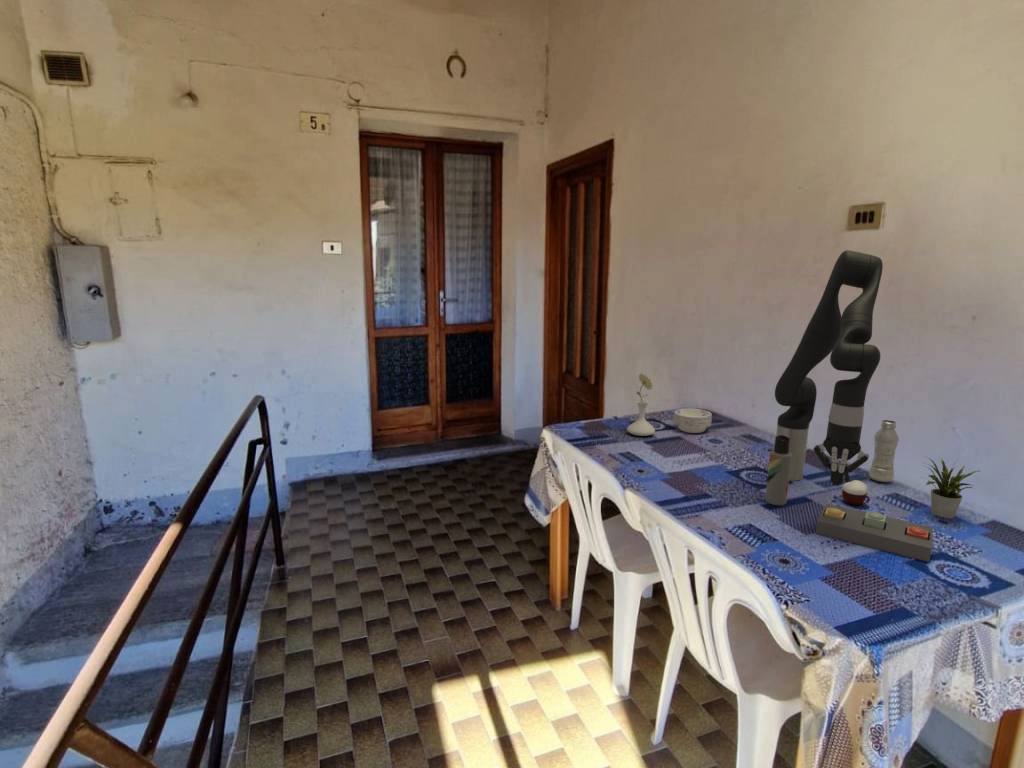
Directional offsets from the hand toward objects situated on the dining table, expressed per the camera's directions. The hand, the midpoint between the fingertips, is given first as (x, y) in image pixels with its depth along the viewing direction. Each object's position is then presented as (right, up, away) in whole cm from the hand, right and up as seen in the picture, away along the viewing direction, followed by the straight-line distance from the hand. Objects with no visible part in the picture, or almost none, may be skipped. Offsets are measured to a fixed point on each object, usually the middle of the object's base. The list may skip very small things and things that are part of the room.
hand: (836, 484), depth 149 cm
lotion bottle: (-8, -9, +18) cm, 21 cm away
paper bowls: (-9, +7, +90) cm, 91 cm away
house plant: (+35, -10, +11) cm, 38 cm away
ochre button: (0, -11, +2) cm, 11 cm away
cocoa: (+15, -9, +18) cm, 25 cm away
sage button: (+8, -10, -4) cm, 13 cm away
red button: (+15, -13, -9) cm, 21 cm away
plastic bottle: (+34, -5, +35) cm, 49 cm away
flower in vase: (-32, +6, +85) cm, 91 cm away
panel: (+8, -13, -3) cm, 15 cm away
